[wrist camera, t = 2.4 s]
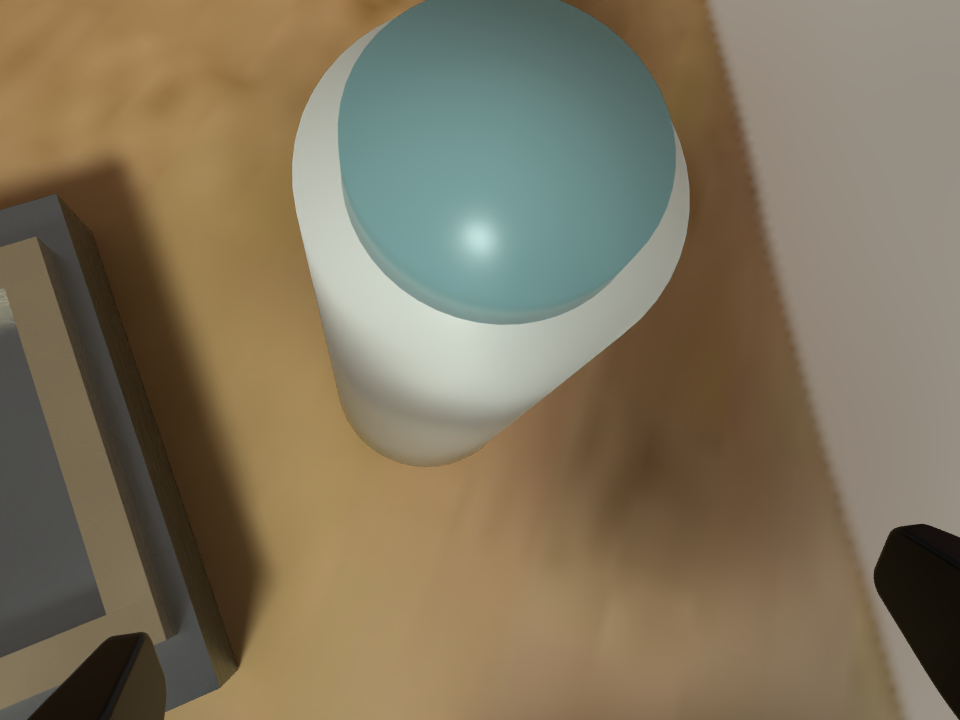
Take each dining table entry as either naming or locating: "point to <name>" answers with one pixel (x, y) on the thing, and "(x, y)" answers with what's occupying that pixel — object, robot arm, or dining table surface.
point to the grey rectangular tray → (85, 481)
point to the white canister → (481, 214)
